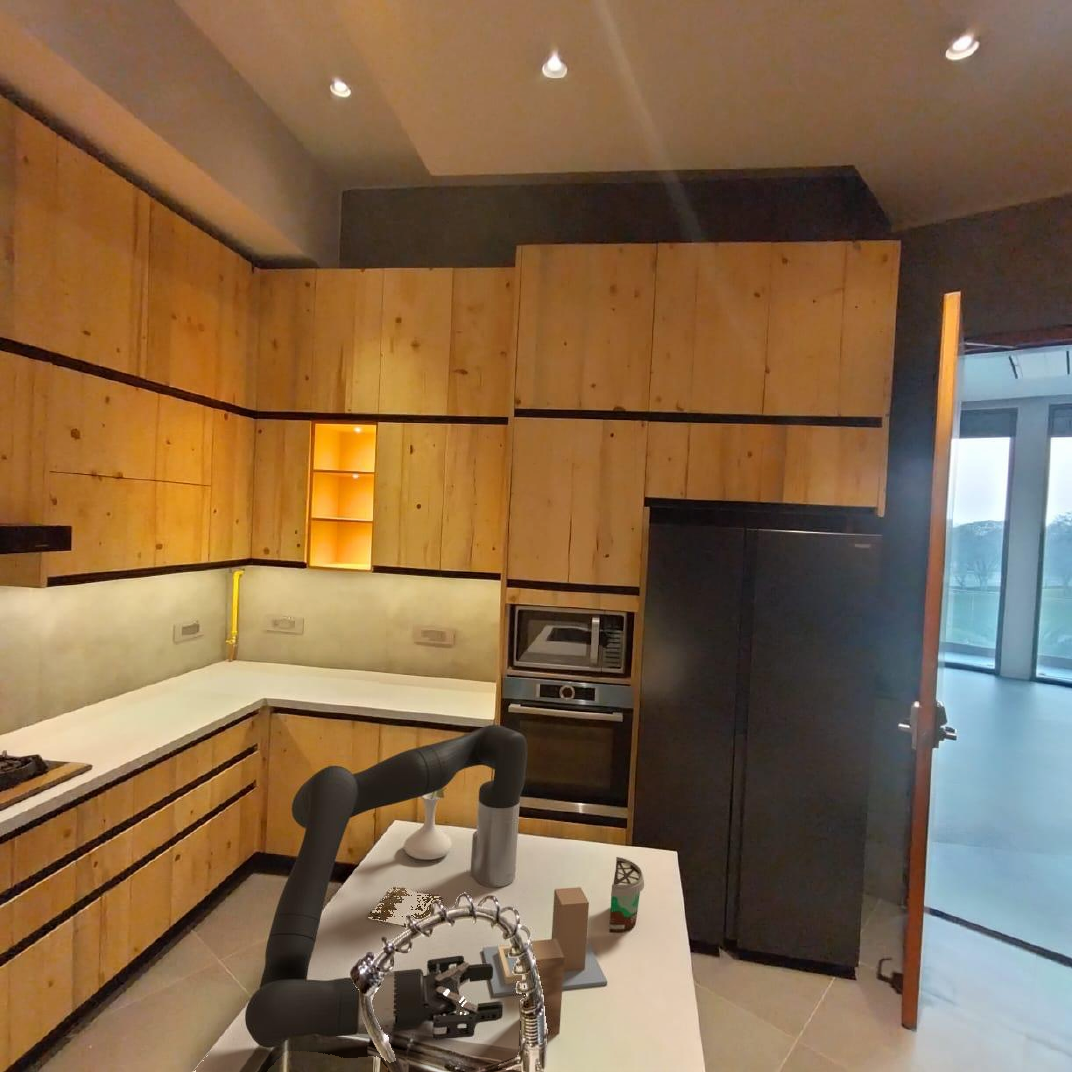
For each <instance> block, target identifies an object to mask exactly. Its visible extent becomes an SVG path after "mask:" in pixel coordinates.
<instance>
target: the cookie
mask: <svg viewBox="0 0 1072 1072" xmlns="http://www.w3.org/2000/svg"><path fill="white" fill-rule="evenodd" d="M392 887H393V889H394V890H393V891H392V892H391V893H389V892H388V891H390V889H392ZM392 887H391V888H390V889H389V890H388V891H387V892H388V893H387V892H386V893H385V894H386V895H385V894H384V896H387V898H386V897H385V899H384V898H383V897H382V898H381V900H382V901H381V900H380V901H381V902H380V901H379V902H378V903H384V905H383V904H381V905H382V906H381V905H379V906H377V905H376V906H377V907H378V908H377V909H376V910H377V911H378V910H381V913H380V912H379V913H377V912H375V913H372V910H375V909H374V908H373V909H372V910H371V911H370V912H369V914H370V915H369V914H368V915H367V916H366V918H367V917H373V918H372V919H379V920H383V921H384V920H385V921H386V919H388V918H387V917H392V916H393V914H390V912H389V911H388V910H390V911H391V910H392V912H393V910H397V909H396V908H395V907H394V906H395V905H394V903H395V904H396V903H402V900H404V899H402V897H401V896H407V895H408V896H410V895H409V894H407V893H406V892H407V891H406V890H405V889H407V888H405V887H397V889H400V890H398V891H397V890H396V886H392ZM395 890H396V891H397V892H396V891H395ZM394 891H395V892H394ZM402 891H405V892H402ZM418 892H419V891H417V893H418ZM404 893H405V894H406V895H405V894H404ZM428 893H429V895H427V896H429V897H430V896H432V897H431V898H433V900H436V899H439V900H441V903H442V901H443V900H444V899H443V898H445V897H444V896H441V897H439V898H434V896H440V895H439V894H433V893H430V892H428ZM388 894H389V895H388ZM430 894H431V895H430ZM388 896H389V897H388ZM394 896H396V897H394ZM397 896H399V897H400V899H397V898H399V897H397ZM411 896H412V895H411ZM417 896H421V895H417ZM425 896H426V895H425ZM429 897H426V898H427V899H423V898H424V897H422V899H423V901H425V900H427V901H425V902H426V903H428V902H429V901H430V900H431V898H429ZM383 899H384V900H383ZM417 899H419V898H417ZM442 899H443V900H442ZM400 900H401V901H400ZM433 900H432V901H433ZM417 901H418V900H417ZM420 901H421V900H420ZM420 901H418V902H419V903H420ZM432 901H431V903H432ZM425 902H424V903H425ZM390 903H391V904H390ZM426 903H425V904H424V907H425V906H426ZM418 905H420V904H418ZM418 905H417V907H418ZM422 905H423V904H422ZM379 907H382V908H381V909H380V908H379ZM411 907H412V906H411ZM428 907H429V910H428ZM428 907H427V910H426V911H425V912H424V913H423V914H421V915H419V913H418V915H417V914H416V913H415V914H414V915H415V916H416V917H414V916H413V915H411V916H413V917H414V918H415V919H422V918H424V917H426V916H428V915H429V914H430V912H431V904H430V905H429V906H428ZM412 908H413V907H412ZM417 909H418V910H421V911H423V909H422V908H421V906H419V907H418V908H416V909H415V910H417ZM424 909H425V908H424ZM411 910H413V909H411ZM384 911H385V912H384ZM393 913H394V912H393ZM424 914H425V915H424ZM391 915H392V916H391ZM421 916H422V917H421ZM378 917H380V918H378ZM394 917H395V916H394ZM402 917H403V916H402ZM406 917H407V916H406ZM417 917H418V918H417ZM403 927H404V928H407V927H406V924H405V923H404V926H403Z"/></svg>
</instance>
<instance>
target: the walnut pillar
mask: <svg viewBox="0 0 1072 1072" xmlns="http://www.w3.org/2000/svg"><path fill="white" fill-rule="evenodd" d="M530 941H531V944H532V946H533V949H534V953H535V958H536V965H537V967H538V971H539V976H540V981H541V986H542V989H543V995H544V1006H545V1016H546V1023H547V1029H548V1035H547V1036H550V1035H556V1034H560V1030H561V1014H562V1012H561V1011H562V1002H563V1001H562V1000H563V999H562V998H563V990H562V985H563V969H564V955H563V953H562V951H561V948H560V946H559V944H558V941H557V939H540V940H537V939H536V940H530Z"/></svg>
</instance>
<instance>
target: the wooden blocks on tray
mask: <svg viewBox="0 0 1072 1072" xmlns="http://www.w3.org/2000/svg"><path fill="white" fill-rule="evenodd" d="M553 890H554V891H553V892H554V893H553V909H552V911H553V912H552V921H551V922H552V923H551V937H550V938H551V939H557V941H558V944H559V946H560V948H561V951H562V953H563V955H564V969H563V985H562V991H563V990H571V989H579V988H581V989H582V988H589V987H598V986H606V985H608V980H607V978H606V976H605V973H604V972H603V970H602V968H601V965H600V963H599V961H598V959H597V957H596V955H595V953H594V952H593V949H592V948H591V947H592V946H591V945H590V942H589V941H588V939H587V938H588V922H589V908H590V902H589V900H588V898H587V896H586V895H585V893H584V891H583V889H582V887H580V886H579V887H578V886H577V887H565V888H554V889H553ZM510 945H511V944H508V945H497V946H496V945H495V946H485V947H482V953H483V957H484V962H485V964H492V966H493V978H492V979H491V980H489V982H490V983H489V984H490V988H491V991H492V996H493V998H496V997H504V996H505V997H506V996H516V995H518V994H517V993H516V989H515V988H516V983H517V981H521V980H522V975H514V974H513V973H512V971H513V967H514V964H515V963H516V961H517V958H509V957H508V952H509V948H510ZM524 988H525V985H524ZM523 994H524V993H523ZM523 994H522V995H523Z"/></svg>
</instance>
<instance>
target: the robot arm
mask: <svg viewBox="0 0 1072 1072" xmlns="http://www.w3.org/2000/svg"><path fill="white" fill-rule="evenodd" d="M527 763H528V742H527V739H526V737H525V736H524V735H523V734H522V733H520V732H518V731H516V730H513V729H510V728H507V727H505V726H503V725H499V724H488V725H486V726H483V727H481V728H478V729H476V730H473V731H471V732H468V733H466V734H463V735H461V736H458V737H455V738H450V739H447V740H442V741H439V742H435V743H431V744H426V745H423V746H419V747H415V748H411V749H408V750H404V751H402V752H399V753H398V754H395V755H392V756H390V757H388V758H386V759H384V760H382V761H380V762H377V763H376V764H374V765H373V766H370V767H368V768H367V769H364V770H362V771H358V772H356V773H352V772H351V771H350V770H349V769H347V768H346V767H343V766H339V765H330V766H326V767H324V768H321V769H320V770H318V771H317V772H316V773H315V774H313V775H312V776H311V777H310V778H308V780H307V781H306V782H305V783H303V784H302V785H301V786H300V787H299V789H298V790H297V791H296V793H295V794H294V795H295V796H294V798H293V800H292V803H291V815H292V817H293V819H294V821H295V822H296V824H298V826H300V827H301V828H302V829H305V832H304V834H303V835H304V836H303V840H302V842H301V846H300V848H299V851H298V854H297V856H296V859H295V862H294V864H293V866H292V869H291V870H290V873H289V876H288V878H287V880H286V882H285V885H284V887H283V889H282V892H281V895H280V897H279V900H278V903H277V906H276V908H275V912H274V916H273V920H272V923H271V927H270V932H269V935H268V937H267V938H268V939H267V943H266V946H265V953H264V955H265V956H264V958H265V964H264V968H263V973H262V977H261V980H260V984H259V988H257V990H256V991H255V992H254V993H253V994H252V996H251V997H250V999H249V1001H248V1004H247V1005H246V1007H245V1008H246V1009H245V1014H244V1022H245V1026H246V1029H247V1031H248V1033H249V1035H250V1037H251V1038H252V1040H253V1041H254V1042H255V1043H256V1044H257V1045H259V1046H260V1047H262V1048H269V1049H270V1048H275V1047H279V1046H281V1045H283V1044H284V1043H285V1042H287V1040H289V1039H290V1038H294V1037H295V1038H297V1037H303V1036H305V1037H306V1036H312V1035H317V1036H320V1037H324V1038H336V1037H346V1036H353V1035H369V1034H368V1032H367V1029H366V1027H365V1024H364V1022H363V1019H362V1016H361V1012H360V992H359V990H358V988H356V987H355V985H354V984H353V981H352V979H351V977H342V978H341V977H340V978H335V979H330V980H323V979H321V980H320V979H318V980H317V979H308V975H309V974H308V973H309V968H310V967H309V966H310V962H311V959H312V955H313V952H314V949H315V944H316V940H317V935H318V931H319V928H320V927H319V926H320V922H321V918H322V914H323V913H322V912H323V908H324V904H325V900H326V895H327V891H328V887H329V884H330V881H331V876H332V873H333V869H334V865H335V862H336V859H337V856H338V853H339V849H340V846H341V843H342V840H343V837H344V834H345V832H346V829H347V827H348V824H349V821H350V819H351V818H353V817H356V816H358V815H360V814H362V813H365V812H367V811H368V812H369V811H370V810H374V809H378V808H383V807H386V806H387V807H388V806H391V805H395V804H398V803H402V802H406V801H409V800H413V799H417V798H421V796H424V795H426V794H429V793H432V792H435V791H438V790H440V789H442V788H443V789H444V788H445V787H446V786H447V785H449V783H450V782H452V780H453V779H454V777H455V776H456V775H457V773H459V772H460V771H462V770H464V769H465V770H466V769H469V768H473V767H477V766H485V767H488V768H490V769H492V770H494V774H493V779H492V780H489V781H486V782H483V784H481V785H480V787H479V790H478V800H477V801H478V806H477V820H476V831H475V832H473V833H472V839H471V854H470V855H471V857H470V869H469V870H470V872H469V873H470V874H469V876H470V877H473V878H474V880H475V881H476V882H477V883H479V884H480V885H483V886H486V887H491V888H497V887H498V888H499V887H505V886H508V885H510V884H512V883H513V882H514V881H515V878H516V867H517V866H516V864H517V851H518V850H517V849H518V835H519V833H518V832H519V817H520V816H519V815H520V803H521V802H520V801H521V795H522V791H523V789H524V787H525V781H526V780H525V778H526V770H527ZM426 962H427V963H426V964H427V965H426V975H424V972H423V970H422V969H421V968H415V969H413V968H412V969H404V970H403V969H401V970H393V971H387V972H388V973H387V974H386V975H385V977H384V980H383V981H382V984H381V987H380V988H379V989H378V990H377V992H376V993H375V994H374V997H373V1000H372V1005H373V1009H374V1015H375V1017H376V1019H377V1021H378V1023H379V1025H380V1027H381V1030H383V1032H384V1033H383V1034H390V1033H399V1032H407V1031H416V1030H417V1031H418V1030H420V1029H421V1028H422V1027H423V1024H424V1023H425V1022H432V1039H433V1040H445V1039H446V1040H447V1039H457V1038H458V1039H459V1038H472V1037H474V1035H475V1029H476V1026H477V1025H478V1024H479V1023H485V1022H494V1021H495V1022H496V1021H498V1020H500V1019H502V1018H503V1012H504V1007H503V1002H502V1001H500V1000H498V1001H490V1002H481V1003H477V1004H475V1003H472V1002H469V1001H467V1000H466V998H465V997H464V996H462V995H460V991H459V990H460V987H462V986H463V985H464V984H466V983H467V982H470V983H472V982H482V981H490V980H491V979H492V978H493V966H492V964H486V963H477V964H470V963H469V962H467V961H465V956H463V955H456V956H455V955H454V956H453V955H452V956H448V957H440V958H438V957H437V958H432V959H428V960H427V961H426ZM450 965H454V966H452V967H450ZM455 965H456V966H455ZM465 1012H467V1013H465ZM459 1025H466V1026H465V1027H458V1026H459Z"/></svg>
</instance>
